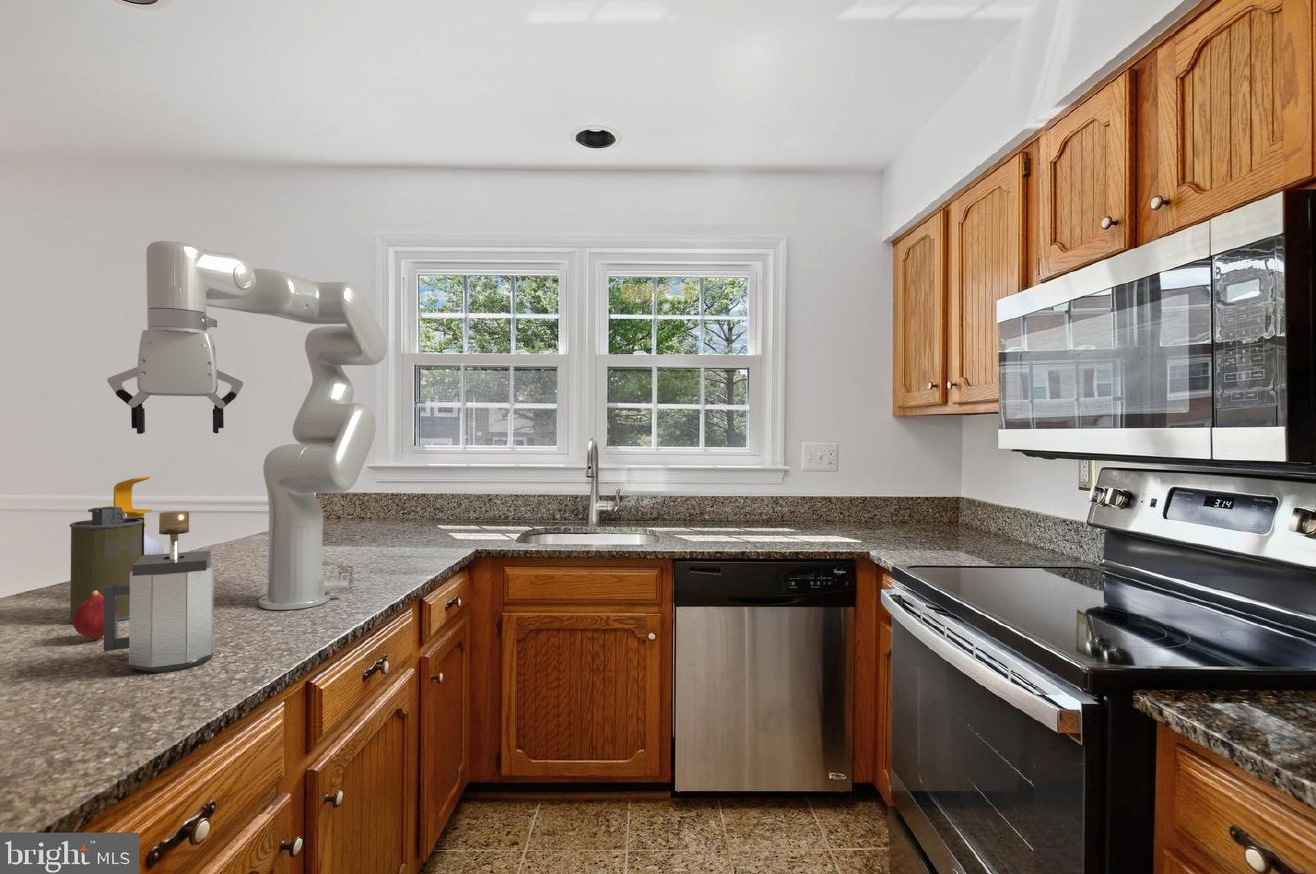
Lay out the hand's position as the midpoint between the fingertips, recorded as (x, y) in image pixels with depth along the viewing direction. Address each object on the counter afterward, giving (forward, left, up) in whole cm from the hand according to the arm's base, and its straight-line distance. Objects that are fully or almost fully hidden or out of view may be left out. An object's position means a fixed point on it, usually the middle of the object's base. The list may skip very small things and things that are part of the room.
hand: (179, 433), depth 106 cm
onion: (+12, -11, -34) cm, 38 cm away
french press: (+1, +7, -34) cm, 35 cm away
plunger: (0, +7, -31) cm, 32 cm away
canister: (+13, -27, -34) cm, 45 cm away
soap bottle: (+11, -41, -34) cm, 54 cm away
